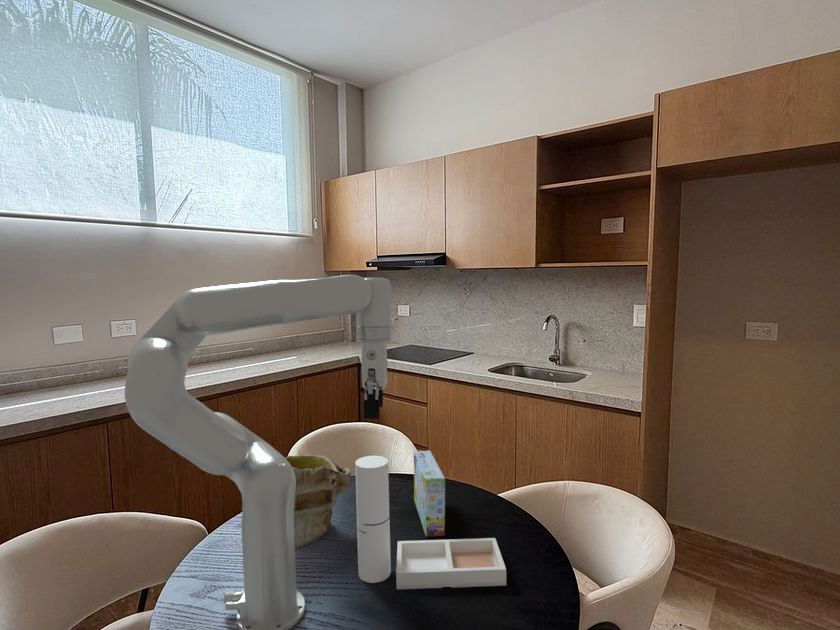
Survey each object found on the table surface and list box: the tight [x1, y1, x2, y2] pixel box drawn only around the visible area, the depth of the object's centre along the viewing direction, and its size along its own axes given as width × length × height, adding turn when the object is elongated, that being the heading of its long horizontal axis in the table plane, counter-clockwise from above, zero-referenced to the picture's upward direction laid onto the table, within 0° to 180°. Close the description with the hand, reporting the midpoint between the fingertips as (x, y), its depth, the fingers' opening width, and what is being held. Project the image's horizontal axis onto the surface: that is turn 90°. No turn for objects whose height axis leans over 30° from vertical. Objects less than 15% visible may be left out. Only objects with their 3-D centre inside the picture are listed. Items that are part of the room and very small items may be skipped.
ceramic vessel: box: [284, 453, 352, 549], centre depth 117 cm, size 23×24×25 cm
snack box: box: [413, 450, 446, 538], centre depth 123 cm, size 21×6×15 cm, turn 9°
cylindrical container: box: [354, 455, 392, 584], centre depth 99 cm, size 7×7×25 cm
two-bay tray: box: [395, 537, 507, 590], centre depth 100 cm, size 23×12×4 cm, turn 91°
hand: (373, 412), depth 98 cm, fingers open, 9 cm apart
